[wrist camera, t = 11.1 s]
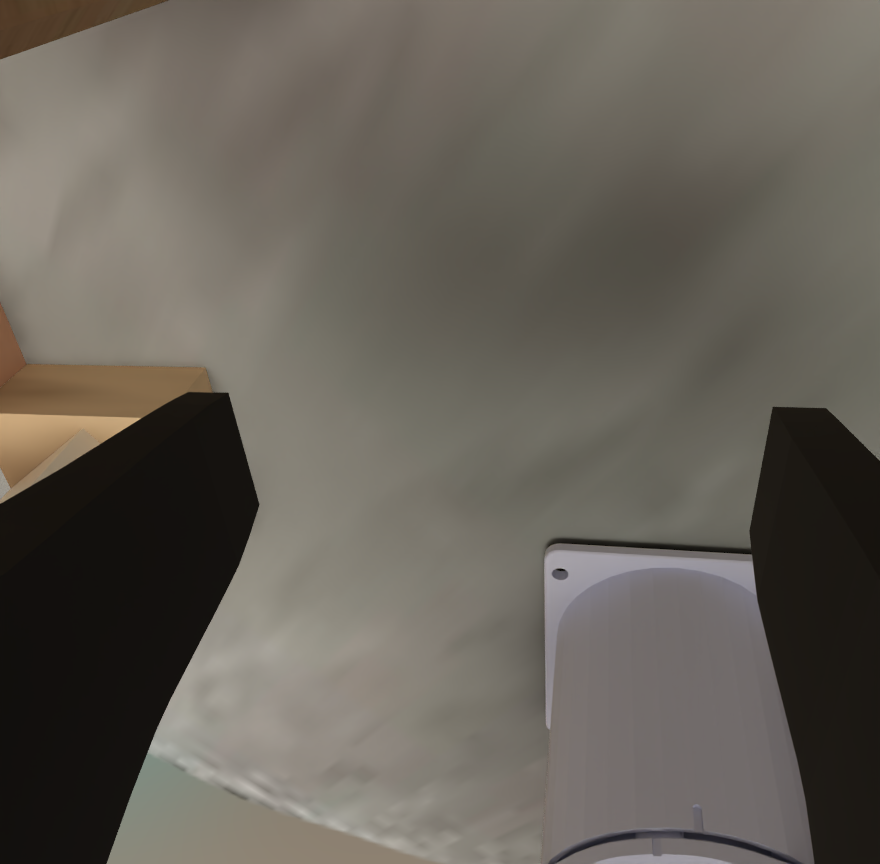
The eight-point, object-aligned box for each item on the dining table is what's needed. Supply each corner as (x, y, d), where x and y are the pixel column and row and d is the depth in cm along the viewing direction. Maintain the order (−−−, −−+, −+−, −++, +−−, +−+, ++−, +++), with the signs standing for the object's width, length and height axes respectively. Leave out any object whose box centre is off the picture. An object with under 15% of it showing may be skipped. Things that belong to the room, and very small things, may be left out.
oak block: (252, 512, 28) (219, 575, 25) (95, 504, 29) (49, 563, 26) (209, 362, 24) (165, 418, 22) (32, 359, 25) (-28, 412, 23)
